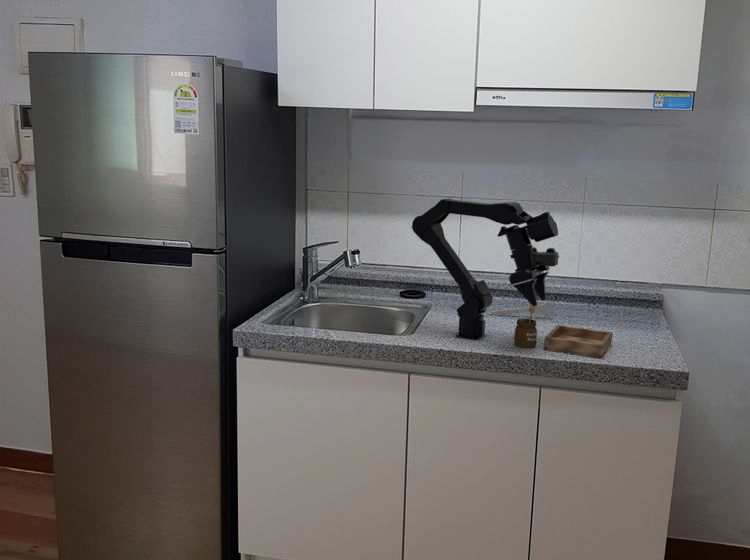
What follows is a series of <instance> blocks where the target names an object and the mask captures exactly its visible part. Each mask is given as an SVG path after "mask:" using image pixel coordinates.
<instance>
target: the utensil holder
mask: <svg viewBox="0 0 750 560" xmlns="http://www.w3.org/2000/svg"><path fill="white" fill-rule="evenodd" d="M529 304H530V303H529ZM531 306H532V305H531V304H530V305H529V307H530V308H529V312H528V311H527V313H526V310H525V312H524V313H523V315H524V317H523V315H521V316H518V317H519V318H518V319H517V320H516V326H515V329H514V336H513V337H514V338H513V342H514V345H515V346H516V347H517V348H520V349H533V348H536V346H537V338H538V330H537V327H536V326H537V321H536V320H535V319H532V315H533V314H532V313H534V311H535V306H534V309H533V306H532V308H531ZM521 308H526V307H525V306H524V307H521ZM519 311H520V310H519ZM521 311H522V310H521ZM528 313H530V314H529V318H528V315H527V314H528Z"/></svg>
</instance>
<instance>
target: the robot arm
mask: <svg viewBox="0 0 750 560" xmlns="http://www.w3.org/2000/svg"><path fill="white" fill-rule="evenodd" d="M450 214H452V215H461V216H468V217H479V218H485V219H488V220H491V221H492V222H495V223H499V224H500V225H504V226H501V227H500V231H498V233H497V237H503V236H505V237H506V240H507V243H508V245H509V248H510V252H511V254H510V255H509V256H510V259H512V260H514V261H513V262H514V264H515V267H516V269H514V272H512V273H510V275H509V277H508V280H509V284H510V285H511V286H513V288H515V289H516V290H517V291H518V292H519V293H520V294H521V295H522V296H523V297H524V298H525V299H526V300H527V301H528V302H529V304H531V306H537V305H538V301H537V297H539V299H540V300H541V301H546V300H547V297H546V277H547V276H548V274H549V273H550V271H549V270H550V268H551V267H556V266H558V265H559V258H560V255H559V252H557V251H556V249H555V248H554V247H548V248H547V249H546V251H538V249H537V247H536V246H533V244H532V241H534V243H535V242H536V243H539V242H543V241H546V240H548V239H551V238H555V237H557V236H558V235H559V228H558V224H557V222H556V221H555V220H554V217H553V216H552V215H551V213H550V211H545V212H543V213H541V214H538V215H535V216H532V215H531V214H529V213H528V212H526V211H525V210H524V209H523V207H522V205H521V204H520V203H519V202H517V201H505V202H493V203H487V202H477V201H469V200H459V199H458V200H457V199H452V198H448V197H447V198H445V199H444V198H442V199H440V200H439V201H438V202H437V203H435V205H434V206H432V207H430V209H428V210H427V211H425V212H424V213H423V214H422V215H418V216H416V217H414V218H413V220H412V225H411V230H412V231H413V233H414V234H415V235H416V236H417V237H418V239H420V240H421V241H422V242H424V243H425V244H427V245H429V246H430V247H431V248H432V250H433V252H434V253H435V255H437V257H438V259H439V260H440V261H441V263H442V264H443V266H444V267H445V269H446V270H447V271H448V272H449V275H450V276H451V277H452V279H453V280H454V281H455V283H456V285H458V288H459V290H460V295H461V299H462V300H463V303H462V304H461V305H460V306H459V307H458V308H456V312H457V316H458V333H457V334H456V335H455V336H456V337H458V338H464V339H471V340H477V341H478V340H480V339H481V338H482V337H484V336H485V334H486V320H484V319H485V315H484V314H485V313H486V311H487V309H488V308H490V306H491V305H492V303H493V299H494V297H493V294H492V292H493V290H492V289H490V288H489V287H488V285H487V283H486V281H485V279H482V280H479V281H478V280H476V278H474V277H473V276H472V274H471V273H470V272H469V270H468V269H467V267H466V265H464V263H463V261H462V260H461V258H460V257H459V256H458V255H457V253H456V252H455V250H454V248H452V245H451V244H450V243H449V242H448V240H447V239H446V237H445V232H444V228H443V226H442V223H443V222H444V221H446V219H447V217H448V216H449V215H450ZM513 224H514V225H513ZM523 224H526V225H524V226H522V227H520V225H523ZM505 225H506V226H507V225H508V227H506V226H505ZM509 225H512V226H509ZM536 294H537V295H536Z"/></svg>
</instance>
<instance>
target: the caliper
mask: <svg viewBox="0 0 750 560" xmlns="http://www.w3.org/2000/svg"><path fill="white" fill-rule="evenodd" d="M529 308H530V306H528V307H525V308H522V307H519V308H508V309H499V310H492V311H491V312H489V313H487V316H493V317H494V316H496V317H497V316H499V317H500V316H505V315H507V316H508V315H514V314H515V315H516V314H524V312H525V310H526V314H528V313H530V312H529ZM531 308H532V305H531ZM533 309H534V306H533ZM519 310H520V311H519ZM521 310H522V311H521ZM527 311H528V313H527ZM547 311H549V312H550V316H551V320H554V317H555V307H554V303H551V300H549V301H547V300H545V303H541V304H537V306H535V311H534V313H532V315H535V314H536V315H537V314H541V313H542V314H543V316H544V318H545V320H548V318H549V317H548V314H547V313H548V312H547Z"/></svg>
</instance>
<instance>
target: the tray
mask: <svg viewBox="0 0 750 560" xmlns="http://www.w3.org/2000/svg"><path fill="white" fill-rule="evenodd" d="M612 340H613V332H611V331H605V330H598V329H591V328H590V329H588V328H584V327H583V328H582V327H576V326H575V327H574V326H568V325H562V324H561V325H560V324H557V325H556V326H555V327H554V328H553V329H552V330H551V331H550V332H549V333H547V335H545V337H544V343H543V350H544V351H548V350H549V351H550V352H555V351H556V352H555V353H561V352H564V353H563V354H568V353H570V354H569V355H574V354H577V355H576V356H581V355H583V357H587V356H589V357H588V358H594V357H595V358H596V359H600V358H602V359H603V357H604V356H605V355H606V353H607V352H608V350H609V349H610V348H611V346H612ZM608 348H609V349H608ZM606 351H607V352H606Z"/></svg>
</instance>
